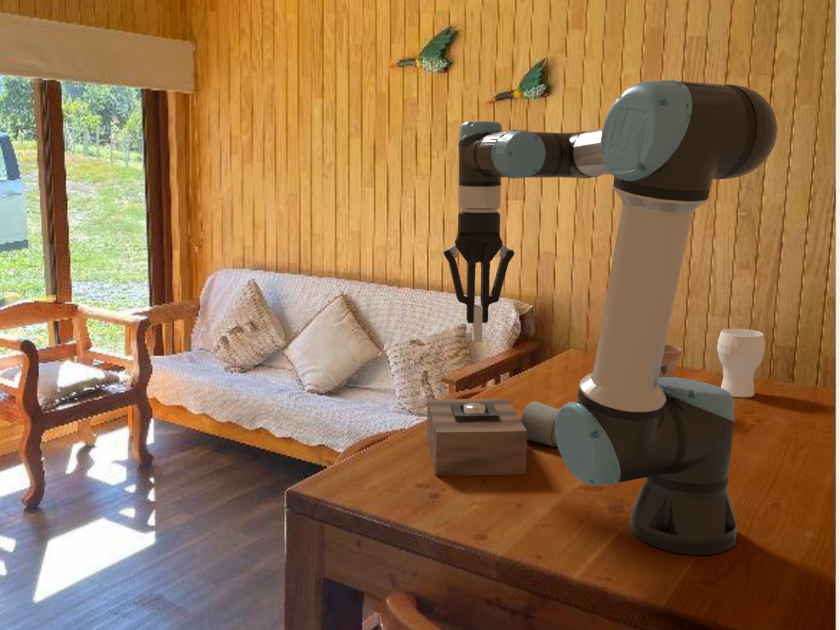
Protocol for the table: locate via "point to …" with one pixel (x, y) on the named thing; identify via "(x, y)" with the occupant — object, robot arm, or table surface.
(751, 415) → the table surface
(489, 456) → the socket block
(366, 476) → the table surface
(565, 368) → the table surface
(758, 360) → the cup
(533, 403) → the ceramic mug
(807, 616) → the table surface
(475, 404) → the peg
